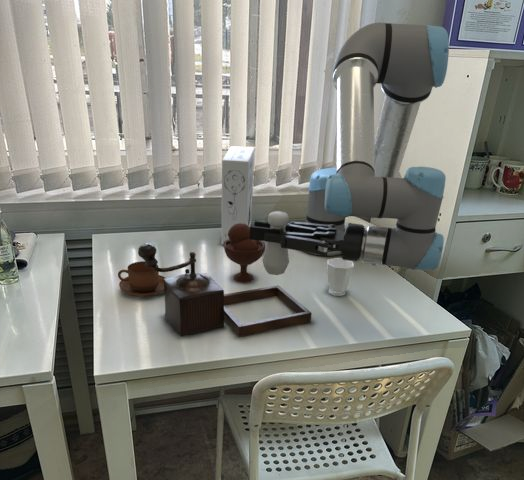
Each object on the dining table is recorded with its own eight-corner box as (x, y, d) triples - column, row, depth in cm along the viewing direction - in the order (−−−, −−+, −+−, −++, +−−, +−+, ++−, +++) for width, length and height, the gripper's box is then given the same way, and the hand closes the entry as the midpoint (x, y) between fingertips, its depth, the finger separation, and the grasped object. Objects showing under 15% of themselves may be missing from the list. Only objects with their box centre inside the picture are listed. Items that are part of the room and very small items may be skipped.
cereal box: (245, 246, 158) (248, 161, 145) (221, 244, 158) (221, 159, 145) (251, 224, 176) (254, 147, 163) (229, 223, 177) (230, 145, 164)
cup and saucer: (124, 303, 121) (121, 279, 118) (116, 283, 131) (114, 260, 128) (174, 297, 125) (173, 273, 122) (163, 278, 135) (162, 255, 132)
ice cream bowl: (259, 289, 132) (262, 231, 124) (217, 283, 133) (217, 227, 126) (267, 273, 141) (270, 219, 133) (228, 268, 142) (228, 214, 135)
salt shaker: (268, 278, 110) (271, 218, 104) (257, 268, 115) (260, 210, 108) (292, 274, 113) (297, 215, 106) (281, 265, 117) (285, 207, 110)
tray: (277, 294, 130) (278, 285, 128) (310, 322, 118) (311, 312, 116) (210, 305, 122) (210, 296, 121) (238, 337, 110) (239, 326, 109)
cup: (329, 299, 128) (333, 269, 124) (314, 283, 137) (317, 254, 132) (355, 297, 130) (359, 267, 126) (338, 281, 138) (342, 252, 134)
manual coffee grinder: (206, 307, 122) (205, 233, 112) (225, 328, 113) (226, 250, 104) (141, 319, 115) (134, 241, 106) (156, 342, 107) (151, 260, 98)
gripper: (357, 275, 101) (241, 259, 106) (363, 248, 115) (260, 235, 119) (362, 238, 97) (242, 223, 102) (368, 214, 111) (262, 202, 115)
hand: (252, 229), depth 110 cm, fingers closed on salt shaker, 3 cm apart
